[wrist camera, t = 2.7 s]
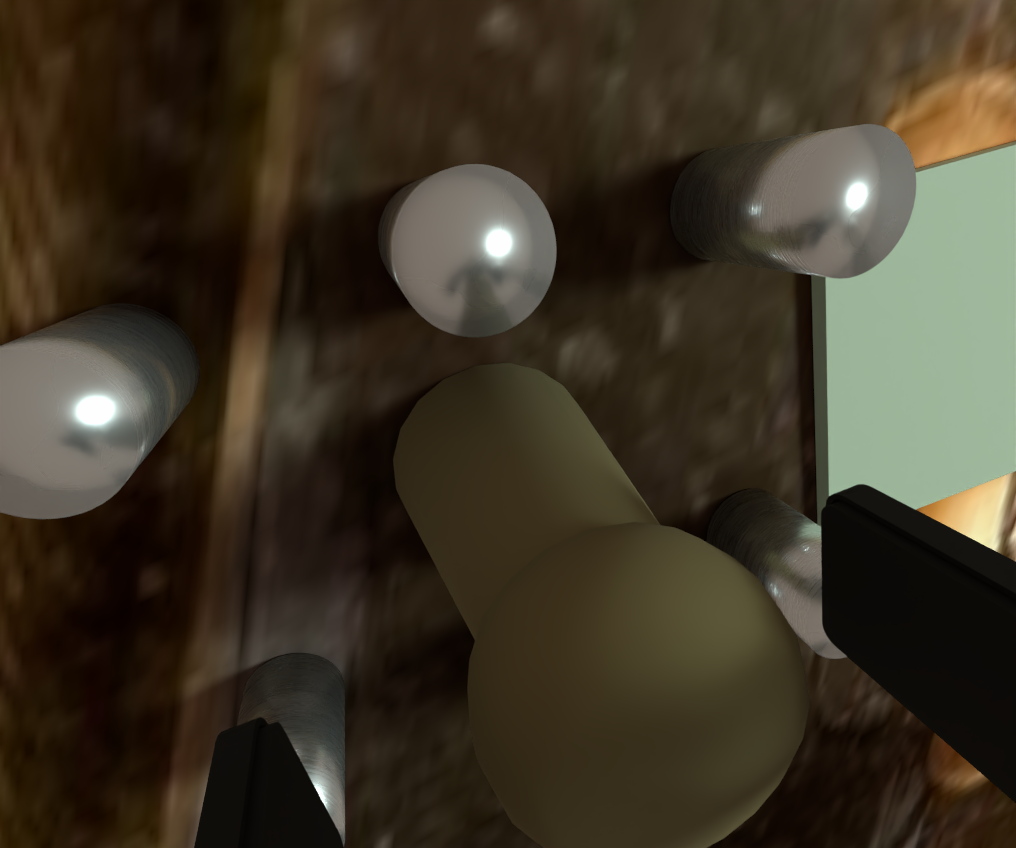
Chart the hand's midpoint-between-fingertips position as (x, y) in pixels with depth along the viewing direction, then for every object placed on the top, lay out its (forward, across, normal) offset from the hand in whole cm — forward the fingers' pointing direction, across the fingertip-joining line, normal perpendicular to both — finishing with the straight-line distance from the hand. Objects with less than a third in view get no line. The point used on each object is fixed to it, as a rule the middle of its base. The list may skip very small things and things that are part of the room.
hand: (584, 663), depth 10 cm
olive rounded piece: (+9, -1, 0) cm, 9 cm away
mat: (+8, -18, +1) cm, 20 cm away
